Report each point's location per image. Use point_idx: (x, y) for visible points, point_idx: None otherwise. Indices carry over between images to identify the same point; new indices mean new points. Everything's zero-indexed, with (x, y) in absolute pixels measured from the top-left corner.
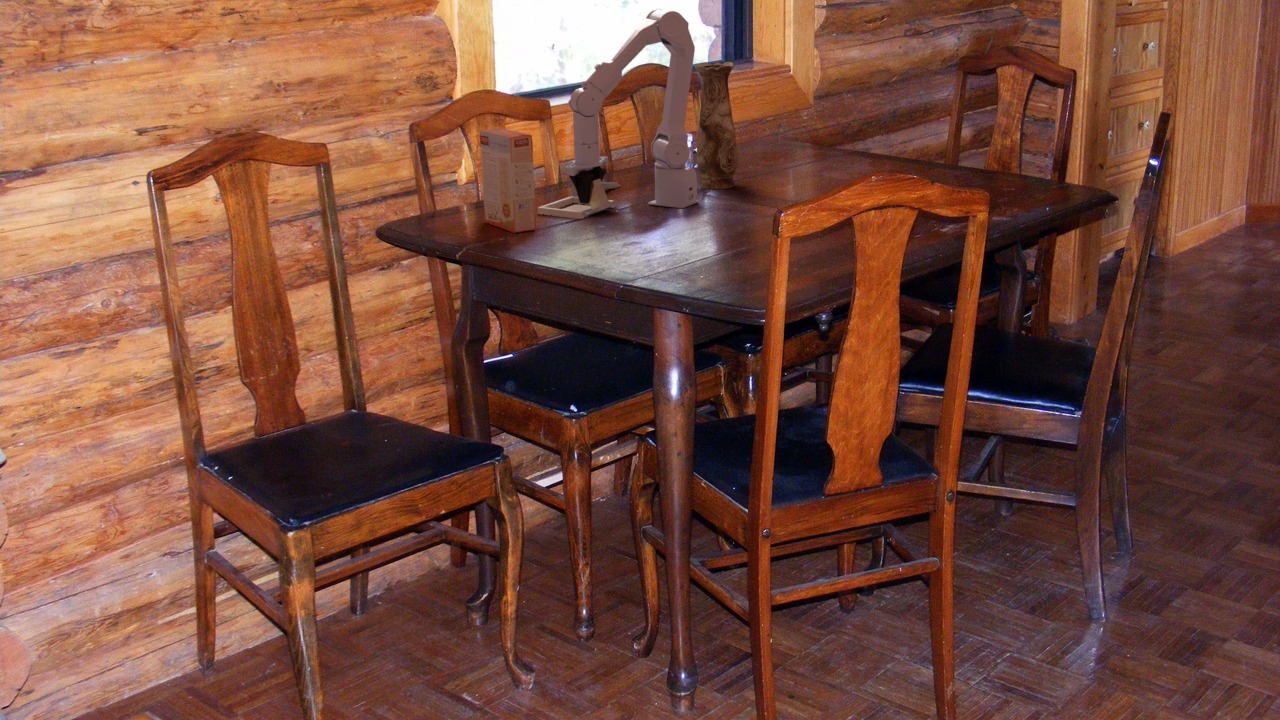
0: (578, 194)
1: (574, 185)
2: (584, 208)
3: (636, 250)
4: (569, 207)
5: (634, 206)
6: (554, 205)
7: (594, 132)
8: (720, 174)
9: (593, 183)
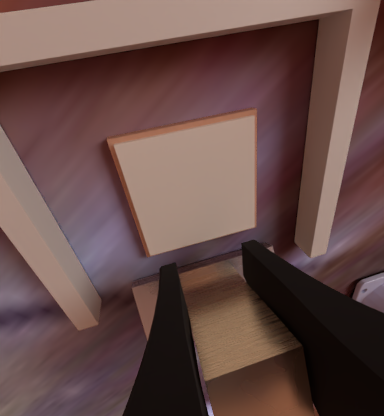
0: (157, 309)
1: (136, 380)
2: (200, 221)
3: None
4: (173, 148)
5: (334, 267)
6: (111, 50)
7: None
8: None
9: None
